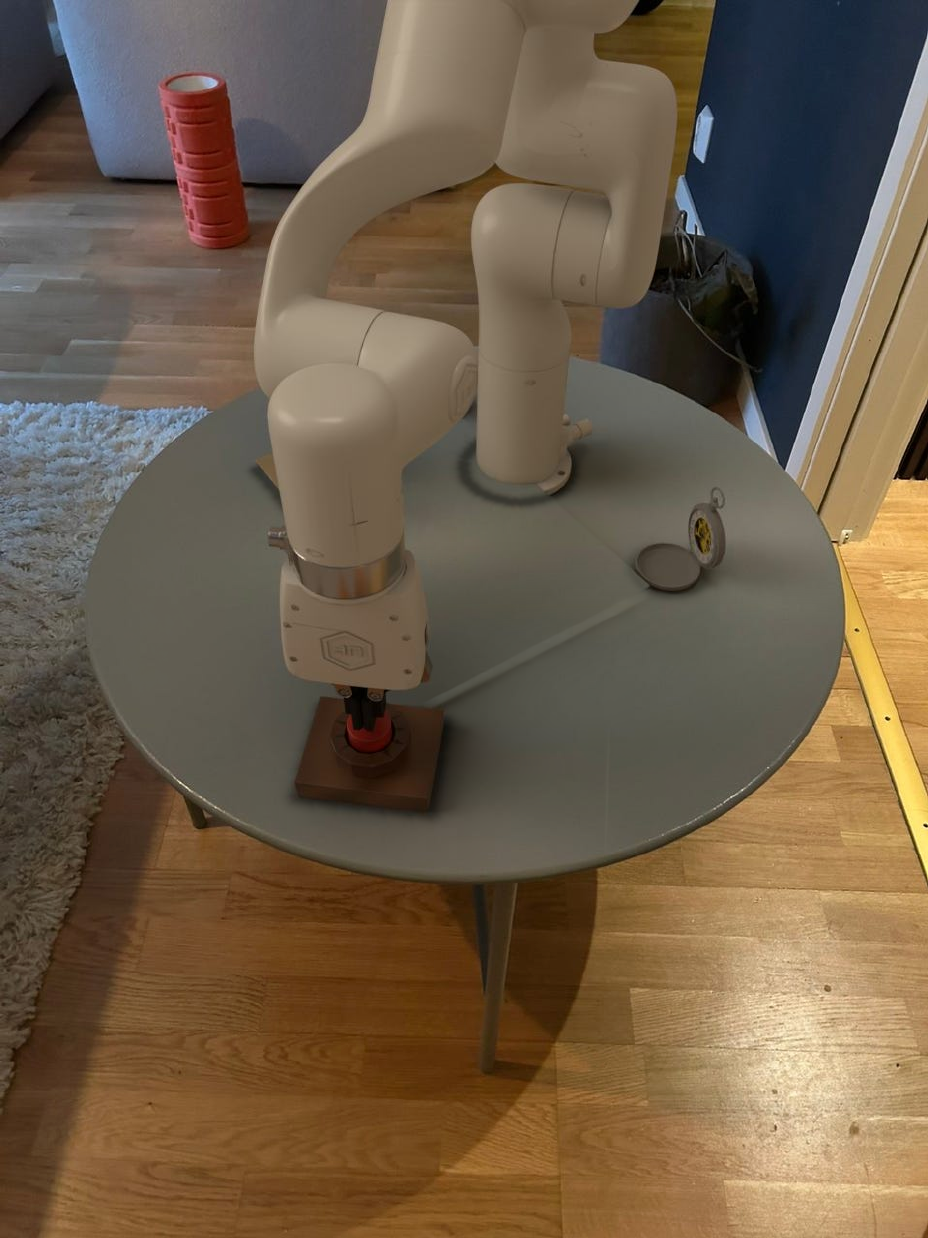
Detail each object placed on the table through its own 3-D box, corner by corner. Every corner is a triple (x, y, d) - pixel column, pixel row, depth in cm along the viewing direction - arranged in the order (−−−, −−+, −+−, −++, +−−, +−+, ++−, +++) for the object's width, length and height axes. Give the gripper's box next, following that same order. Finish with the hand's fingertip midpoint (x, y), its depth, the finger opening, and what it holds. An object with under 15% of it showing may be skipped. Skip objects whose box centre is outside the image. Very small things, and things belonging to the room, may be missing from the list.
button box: (297, 797, 75) (291, 770, 72) (322, 710, 81) (318, 683, 79) (428, 812, 75) (427, 786, 72) (443, 724, 81) (443, 696, 78)
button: (344, 750, 74) (342, 738, 73) (353, 715, 77) (352, 703, 75) (387, 755, 74) (386, 743, 73) (395, 720, 76) (394, 707, 75)
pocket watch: (621, 572, 94) (635, 497, 86) (667, 532, 98) (685, 457, 91) (688, 611, 90) (709, 537, 83) (732, 568, 94) (756, 494, 87)
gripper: (221, 577, 58) (264, 744, 71) (452, 601, 57) (452, 766, 70) (254, 502, 63) (289, 671, 76) (467, 523, 62) (464, 690, 75)
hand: (367, 716), depth 73 cm, fingers closed
